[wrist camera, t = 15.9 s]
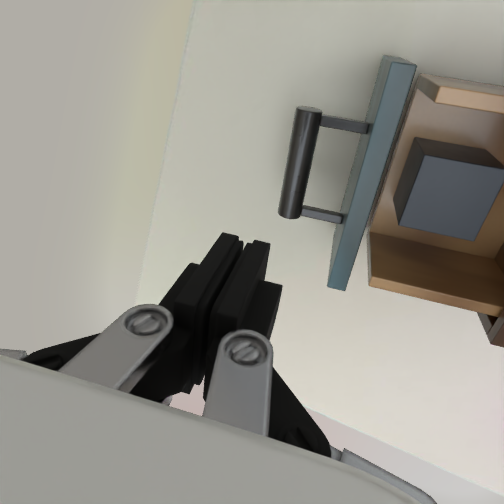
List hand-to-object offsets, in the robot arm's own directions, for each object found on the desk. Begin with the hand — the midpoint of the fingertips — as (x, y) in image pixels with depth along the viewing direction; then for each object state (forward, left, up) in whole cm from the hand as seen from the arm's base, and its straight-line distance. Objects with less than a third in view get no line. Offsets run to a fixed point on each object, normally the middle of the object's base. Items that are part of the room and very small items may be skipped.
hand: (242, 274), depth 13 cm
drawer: (+6, +4, -18) cm, 20 cm away
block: (+8, +5, -17) cm, 19 cm away
